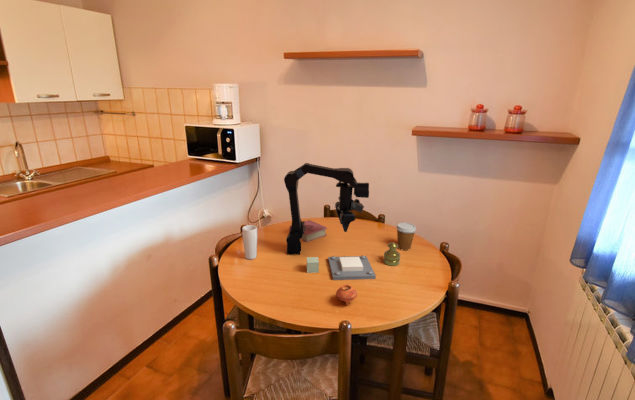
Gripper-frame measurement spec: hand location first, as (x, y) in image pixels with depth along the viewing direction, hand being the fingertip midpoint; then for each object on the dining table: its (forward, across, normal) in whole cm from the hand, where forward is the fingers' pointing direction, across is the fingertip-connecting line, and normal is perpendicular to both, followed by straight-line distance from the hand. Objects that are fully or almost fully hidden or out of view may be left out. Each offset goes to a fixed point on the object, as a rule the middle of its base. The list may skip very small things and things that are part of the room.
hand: (343, 227), depth 163 cm
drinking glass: (+15, 0, +43) cm, 46 cm away
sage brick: (+14, -14, +16) cm, 25 cm away
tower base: (+14, -14, -2) cm, 20 cm away
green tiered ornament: (+14, -10, -22) cm, 27 cm away
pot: (+14, -38, +5) cm, 41 cm away
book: (+15, +25, +14) cm, 33 cm away
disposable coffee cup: (+14, +5, -33) cm, 36 cm away
